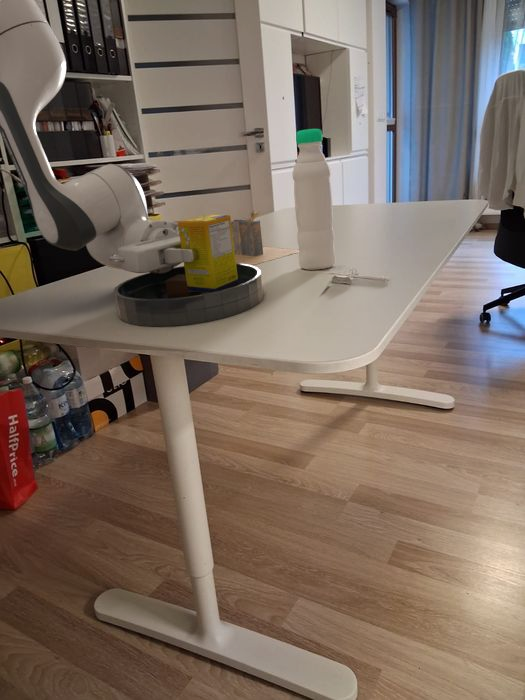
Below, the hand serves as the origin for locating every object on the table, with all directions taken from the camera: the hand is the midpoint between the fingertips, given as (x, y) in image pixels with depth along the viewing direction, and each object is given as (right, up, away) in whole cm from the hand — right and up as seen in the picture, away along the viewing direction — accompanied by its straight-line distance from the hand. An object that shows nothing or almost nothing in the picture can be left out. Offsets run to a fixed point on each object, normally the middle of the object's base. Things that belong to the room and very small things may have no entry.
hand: (212, 250), depth 80 cm
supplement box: (0, -6, +3) cm, 6 cm away
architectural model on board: (+3, +7, +44) cm, 45 cm away
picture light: (+23, -4, +10) cm, 25 cm away
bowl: (-4, -8, +5) cm, 10 cm away
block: (-5, -7, +6) cm, 10 cm away
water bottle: (+19, +1, +23) cm, 30 cm away
